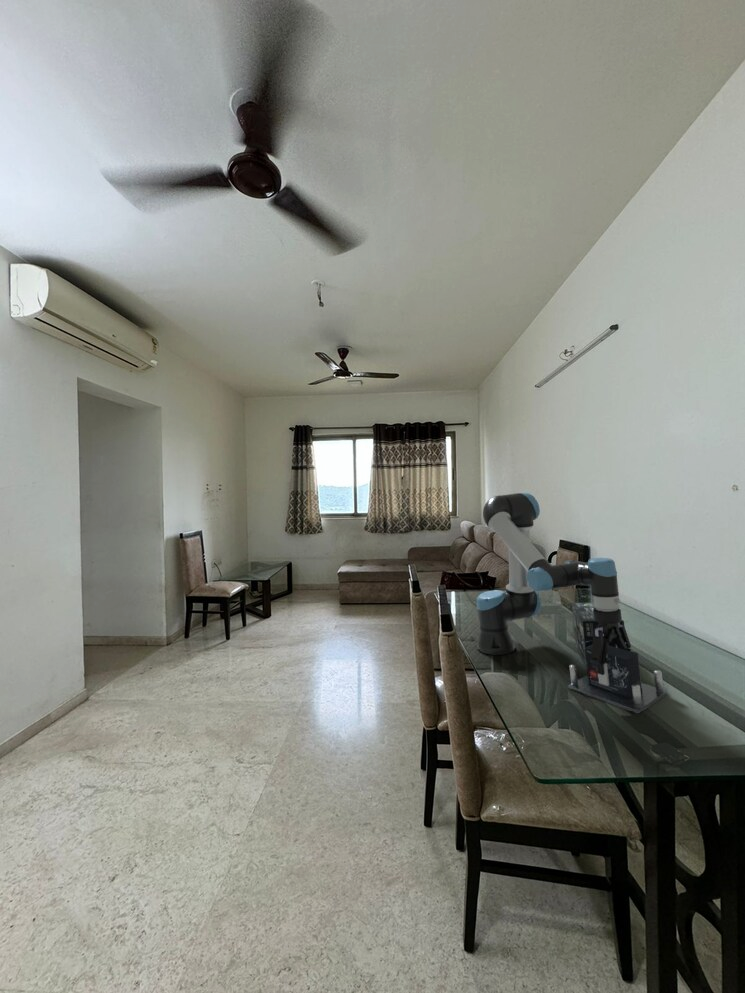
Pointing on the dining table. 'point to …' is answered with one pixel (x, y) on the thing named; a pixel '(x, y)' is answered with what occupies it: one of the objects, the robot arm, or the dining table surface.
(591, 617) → the box
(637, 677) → the small box
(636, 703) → the chassis
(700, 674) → the dining table surface
